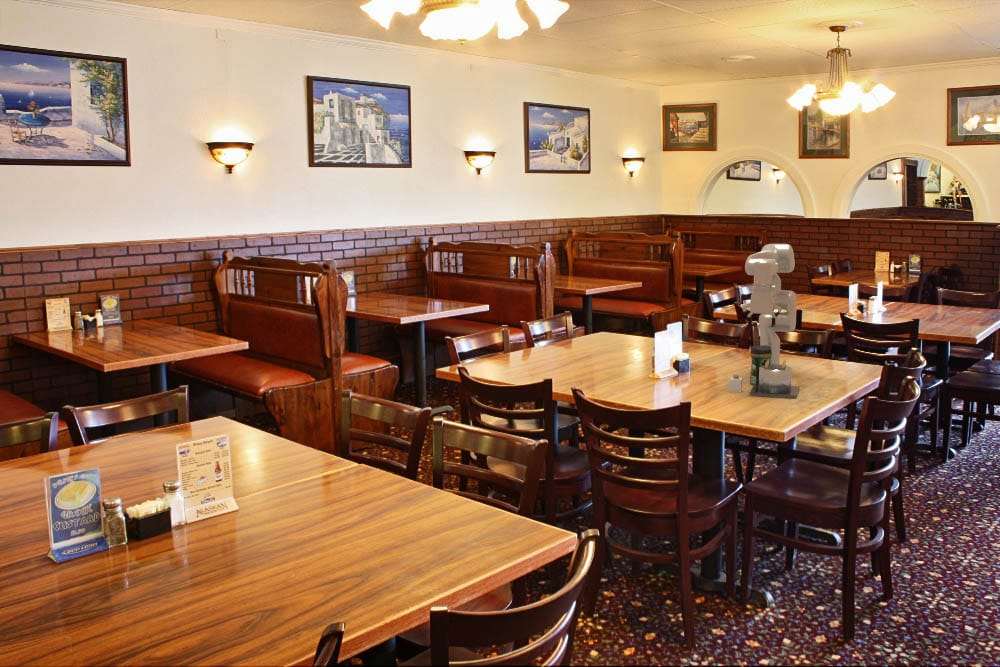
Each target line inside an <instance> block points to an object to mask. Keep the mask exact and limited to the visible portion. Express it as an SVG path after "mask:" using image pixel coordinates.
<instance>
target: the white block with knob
mask: <svg viewBox="0 0 1000 667" xmlns="http://www.w3.org/2000/svg"><path fill="white" fill-rule="evenodd" d="M736 392H737V393H736ZM742 392H743V377H740V375H739V374H733V377H732V376H731V377H730V379H729V393H736V394H738V393H740V394H741V393H742Z"/></svg>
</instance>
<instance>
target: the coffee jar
mask: <svg viewBox="0 0 1000 667" xmlns="http://www.w3.org/2000/svg"><path fill="white" fill-rule="evenodd" d="M749 356H750V357H751V369H750V376H749V383H750V384H751V385H753V386H754V384H759V367H760V366H764V365H765V363H766V361H767V360H769V364H770V359H771V356H772V351H771V347H770V346H766V345H763V346H760V345H755V346H753V345H752V346H751V347H750V355H749Z"/></svg>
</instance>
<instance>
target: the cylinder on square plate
mask: <svg viewBox="0 0 1000 667" xmlns="http://www.w3.org/2000/svg"><path fill="white" fill-rule="evenodd" d="M786 361H787V360H783V362H782V364H769V360H767V361H766V363H765V365H764V366H760V367H759V384H754V385H753V386H752V388H751V389H750V391H749V397H762V398H774V399H775V398H777V399H794V400H797V399H798V394H799V391H800V386H799V385H792V370H793V369H792V367H791V366H788V365H787V364H786Z"/></svg>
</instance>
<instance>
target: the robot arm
mask: <svg viewBox="0 0 1000 667" xmlns="http://www.w3.org/2000/svg"><path fill="white" fill-rule="evenodd" d="M795 262H796V260H795V254H794V250H793V247H792V245H791V244H788V243H768V244H765V245H764V246H763V247H762V248H761V250H760V251H759V252H756V253H753V254H752V253H751V254H750V255H748V257H747V258H746V260H745V264H744V270H745V271H744V272H745V273H746V274H747V275H748V276H753V290H752V291H751V295H750V303H748V304H746V305H744V306H742V308H741V309H742V312H743V313H744V315H745V316H747V325H748V326H749V327H751V326H753V317H752V315H754V314H760V315H759V316H758V325H759V326H758V327H759V338H760V339H759V342H760V343H759V346H763V345H766V346H770V347H771V351H772V356H771V359H770V364H780V362H781V361H780V357H781V356H780V355H781V339H780V337H779V336H778V334H777V332H786V333H788V332H794V331H795V329H796V326H797V325H796V324H797V295H796V292H795V291H793V290H789V289H788V290H787V289H786V290H785V289H782V279H781V277H780V276H779V274H781V273H782V274H783V273H792V272H793V271H794V269H795V265H796V264H795ZM778 273H779V274H778ZM748 308H749V311H747V309H748ZM775 310H777V311H775ZM782 310H783V312H782ZM784 311H786V312H784ZM780 365H781V364H780Z"/></svg>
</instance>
